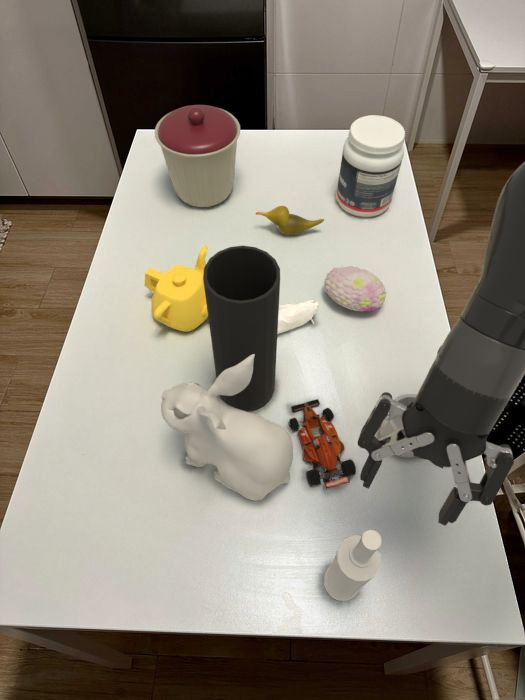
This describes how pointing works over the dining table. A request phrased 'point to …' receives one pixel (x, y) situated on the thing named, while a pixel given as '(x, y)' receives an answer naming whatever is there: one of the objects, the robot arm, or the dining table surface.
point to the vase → (244, 318)
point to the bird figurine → (295, 314)
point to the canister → (199, 152)
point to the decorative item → (355, 288)
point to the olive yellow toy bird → (289, 221)
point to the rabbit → (230, 434)
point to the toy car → (322, 447)
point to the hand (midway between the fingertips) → (403, 501)
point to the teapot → (179, 295)
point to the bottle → (353, 565)
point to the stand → (397, 421)
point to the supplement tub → (370, 165)
